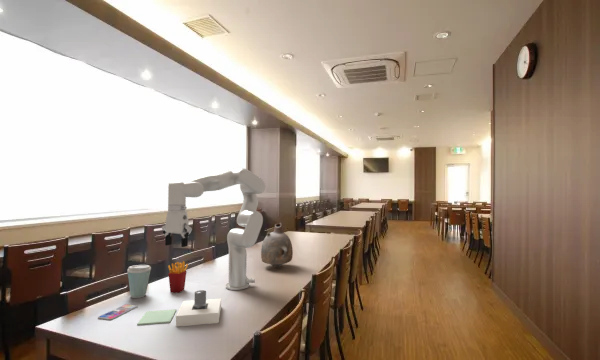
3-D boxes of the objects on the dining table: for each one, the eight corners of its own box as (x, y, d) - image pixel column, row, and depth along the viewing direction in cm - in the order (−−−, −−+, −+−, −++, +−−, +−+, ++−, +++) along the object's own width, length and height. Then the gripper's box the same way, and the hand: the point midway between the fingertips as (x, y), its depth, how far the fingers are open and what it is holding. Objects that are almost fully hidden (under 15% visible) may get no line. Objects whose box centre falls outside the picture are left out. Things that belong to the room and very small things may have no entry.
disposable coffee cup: (134, 292, 155) (135, 262, 155) (155, 292, 155) (155, 263, 155) (121, 299, 144) (122, 268, 145) (143, 299, 144) (144, 268, 144)
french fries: (179, 293, 152) (179, 264, 153) (164, 292, 154) (165, 263, 155) (189, 288, 161) (189, 260, 162) (175, 287, 163) (175, 259, 163)
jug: (252, 268, 202) (253, 223, 203) (273, 261, 220) (273, 220, 221) (281, 273, 188) (281, 225, 189) (300, 266, 206) (300, 222, 207)
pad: (176, 310, 131) (176, 309, 131) (169, 322, 119) (169, 321, 119) (146, 312, 129) (146, 311, 129) (137, 325, 117) (137, 323, 117)
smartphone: (139, 305, 136) (111, 319, 121) (138, 307, 136) (111, 321, 121) (125, 303, 138) (96, 317, 123) (125, 305, 138) (96, 319, 123)
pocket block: (221, 307, 135) (221, 298, 135) (218, 322, 119) (218, 312, 119) (183, 310, 132) (183, 300, 132) (175, 326, 116) (175, 316, 116)
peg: (206, 313, 128) (206, 289, 128) (205, 318, 124) (205, 293, 124) (195, 314, 127) (195, 290, 128) (193, 319, 123) (193, 294, 123)
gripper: (197, 208, 139) (196, 245, 138) (169, 207, 146) (168, 243, 145) (185, 209, 132) (184, 248, 132) (156, 208, 139) (155, 245, 138)
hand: (176, 245), depth 138 cm, fingers open, 9 cm apart
